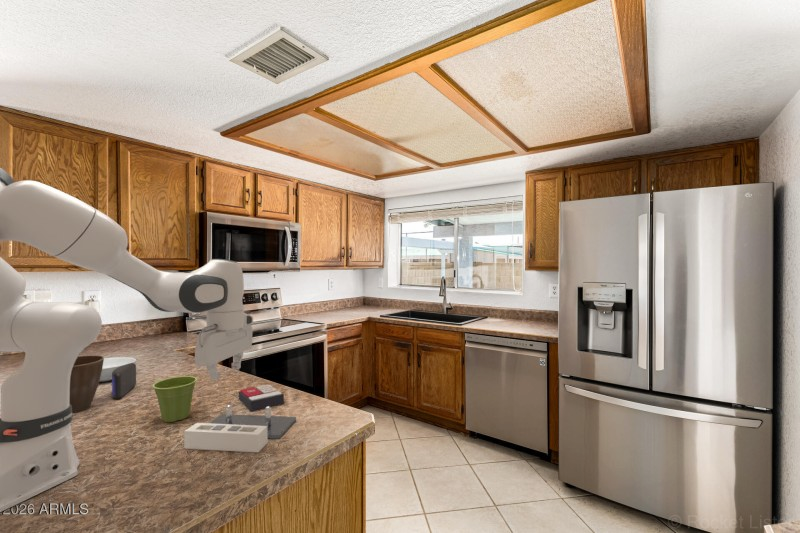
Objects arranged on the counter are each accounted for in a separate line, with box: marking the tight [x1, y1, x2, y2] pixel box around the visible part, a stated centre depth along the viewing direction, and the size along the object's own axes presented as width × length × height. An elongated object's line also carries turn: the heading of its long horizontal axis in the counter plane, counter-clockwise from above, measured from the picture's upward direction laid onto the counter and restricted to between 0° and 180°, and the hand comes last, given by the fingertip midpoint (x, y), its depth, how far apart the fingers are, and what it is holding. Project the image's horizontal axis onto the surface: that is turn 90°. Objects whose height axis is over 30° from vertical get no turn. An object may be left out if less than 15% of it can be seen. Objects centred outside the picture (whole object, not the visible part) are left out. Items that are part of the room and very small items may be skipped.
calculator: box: [238, 384, 285, 413], centre depth 128 cm, size 11×4×15 cm
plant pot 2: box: [151, 375, 198, 423], centre depth 114 cm, size 12×12×11 cm
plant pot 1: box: [70, 355, 105, 414], centre depth 121 cm, size 15×15×16 cm
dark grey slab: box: [110, 363, 137, 400], centre depth 137 cm, size 16×5×9 cm, turn 19°
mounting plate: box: [208, 404, 297, 440], centre depth 107 cm, size 12×24×6 cm, turn 84°
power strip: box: [183, 422, 269, 453], centre depth 96 cm, size 5×20×5 cm, turn 84°
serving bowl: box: [99, 356, 137, 383], centre depth 154 cm, size 21×21×7 cm
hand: (226, 374), depth 96 cm, fingers open, 8 cm apart
